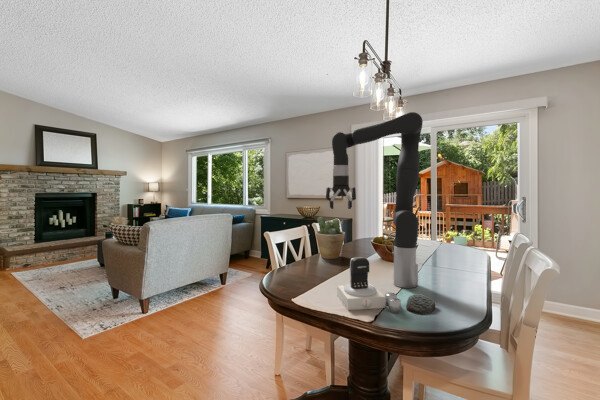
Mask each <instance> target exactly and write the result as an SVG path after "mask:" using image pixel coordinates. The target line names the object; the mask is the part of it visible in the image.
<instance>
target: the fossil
mask: <svg viewBox="0 0 600 400" xmlns="http://www.w3.org/2000/svg"><path fill="white" fill-rule="evenodd" d="M405 309H406V311H408V312H409V313H411V314H415V315H422V316H423V315H430V314H432V312H433V311H434V310H435V309H436V302H435V300H434V299H432V298H431V297H429V296H427V295H424V294H421V293H417V294H411V295H409V297H408V298H407V301H406V305H405Z"/></svg>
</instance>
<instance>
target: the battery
mask: <svg viewBox="0 0 600 400" xmlns="http://www.w3.org/2000/svg"><path fill="white" fill-rule="evenodd" d="M369 273H370V261H369V259H367V258H366V257H364V256H363V257H362V256H361V257H359V256H358V257H352V258H351V259H350V261H349V278H350V281H349V284H350V287H351V288H353V289H363V288H368V284H369V282H368V278H369V277H368V275H369Z"/></svg>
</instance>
